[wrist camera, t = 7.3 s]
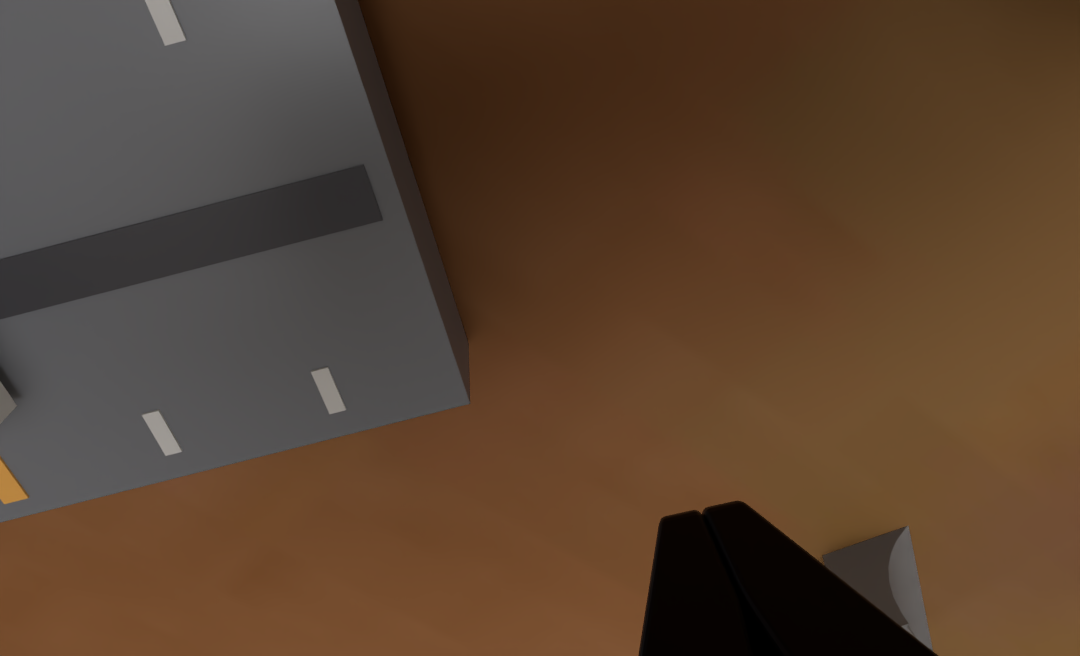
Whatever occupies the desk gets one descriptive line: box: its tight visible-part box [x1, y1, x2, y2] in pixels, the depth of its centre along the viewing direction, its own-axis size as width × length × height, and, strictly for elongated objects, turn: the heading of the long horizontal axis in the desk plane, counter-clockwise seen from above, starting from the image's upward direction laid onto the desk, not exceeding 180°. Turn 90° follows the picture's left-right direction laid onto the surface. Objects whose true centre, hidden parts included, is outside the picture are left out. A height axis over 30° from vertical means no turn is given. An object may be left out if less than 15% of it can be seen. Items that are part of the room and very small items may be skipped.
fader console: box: [0, 0, 470, 522], centre depth 17 cm, size 18×11×3 cm, turn 103°
